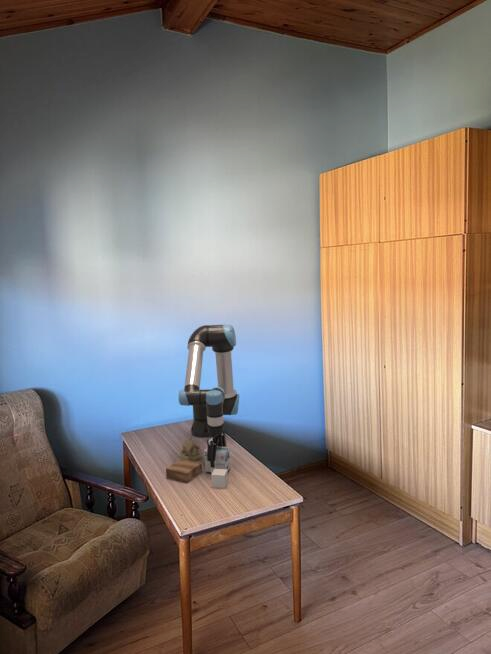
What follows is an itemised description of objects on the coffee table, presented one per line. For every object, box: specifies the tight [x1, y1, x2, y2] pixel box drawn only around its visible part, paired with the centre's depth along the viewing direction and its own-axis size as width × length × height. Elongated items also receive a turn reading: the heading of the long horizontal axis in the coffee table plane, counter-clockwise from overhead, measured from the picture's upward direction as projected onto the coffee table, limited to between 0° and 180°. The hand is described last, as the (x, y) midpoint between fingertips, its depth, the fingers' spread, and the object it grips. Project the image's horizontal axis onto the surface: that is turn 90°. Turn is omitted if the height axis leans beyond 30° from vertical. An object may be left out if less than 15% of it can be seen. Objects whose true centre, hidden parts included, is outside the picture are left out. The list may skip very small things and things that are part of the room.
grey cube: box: [210, 469, 229, 489], centre depth 225 cm, size 6×6×6 cm
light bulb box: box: [203, 446, 231, 473], centre depth 237 cm, size 11×7×11 cm, turn 74°
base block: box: [165, 458, 203, 484], centre depth 235 cm, size 12×12×5 cm
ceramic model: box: [180, 436, 203, 462], centre depth 256 cm, size 14×11×10 cm
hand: (217, 469), depth 238 cm, fingers closed on light bulb box, 7 cm apart
